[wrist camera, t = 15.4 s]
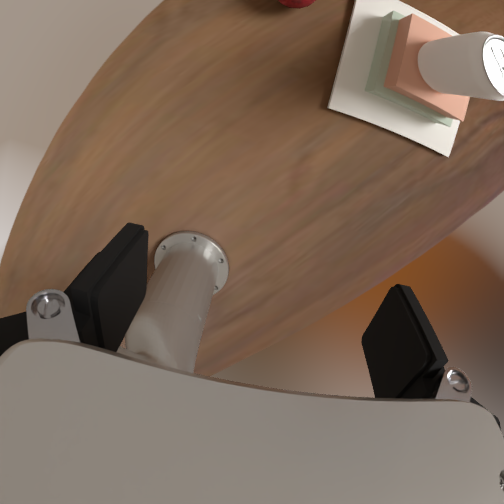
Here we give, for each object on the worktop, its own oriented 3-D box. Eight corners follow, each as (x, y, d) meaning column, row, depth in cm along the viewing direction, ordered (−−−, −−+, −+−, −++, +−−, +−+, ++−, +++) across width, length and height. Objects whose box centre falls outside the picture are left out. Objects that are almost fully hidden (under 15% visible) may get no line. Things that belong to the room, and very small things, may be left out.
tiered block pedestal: (444, 155, 37) (477, 172, 29) (327, 107, 36) (342, 111, 28) (472, 46, 27) (507, 44, 19) (357, -13, 26) (378, -36, 18)
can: (429, 99, 25) (494, 110, 15) (406, 47, 23) (467, 33, 12) (467, 86, 24) (534, 96, 13) (447, 36, 21) (512, 27, 11)
